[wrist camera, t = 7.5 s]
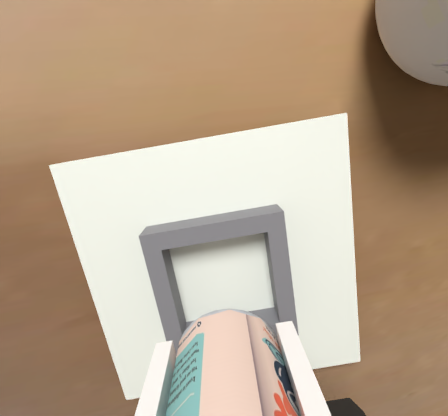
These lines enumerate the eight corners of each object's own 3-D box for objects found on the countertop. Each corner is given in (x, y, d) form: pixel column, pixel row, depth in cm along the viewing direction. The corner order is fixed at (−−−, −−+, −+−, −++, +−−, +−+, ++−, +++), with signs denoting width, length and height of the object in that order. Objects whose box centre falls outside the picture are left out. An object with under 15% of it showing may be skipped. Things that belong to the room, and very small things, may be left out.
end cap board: (130, 387, 24) (117, 424, 21) (59, 163, 19) (28, 168, 16) (353, 350, 24) (373, 382, 21) (338, 114, 19) (363, 109, 16)
